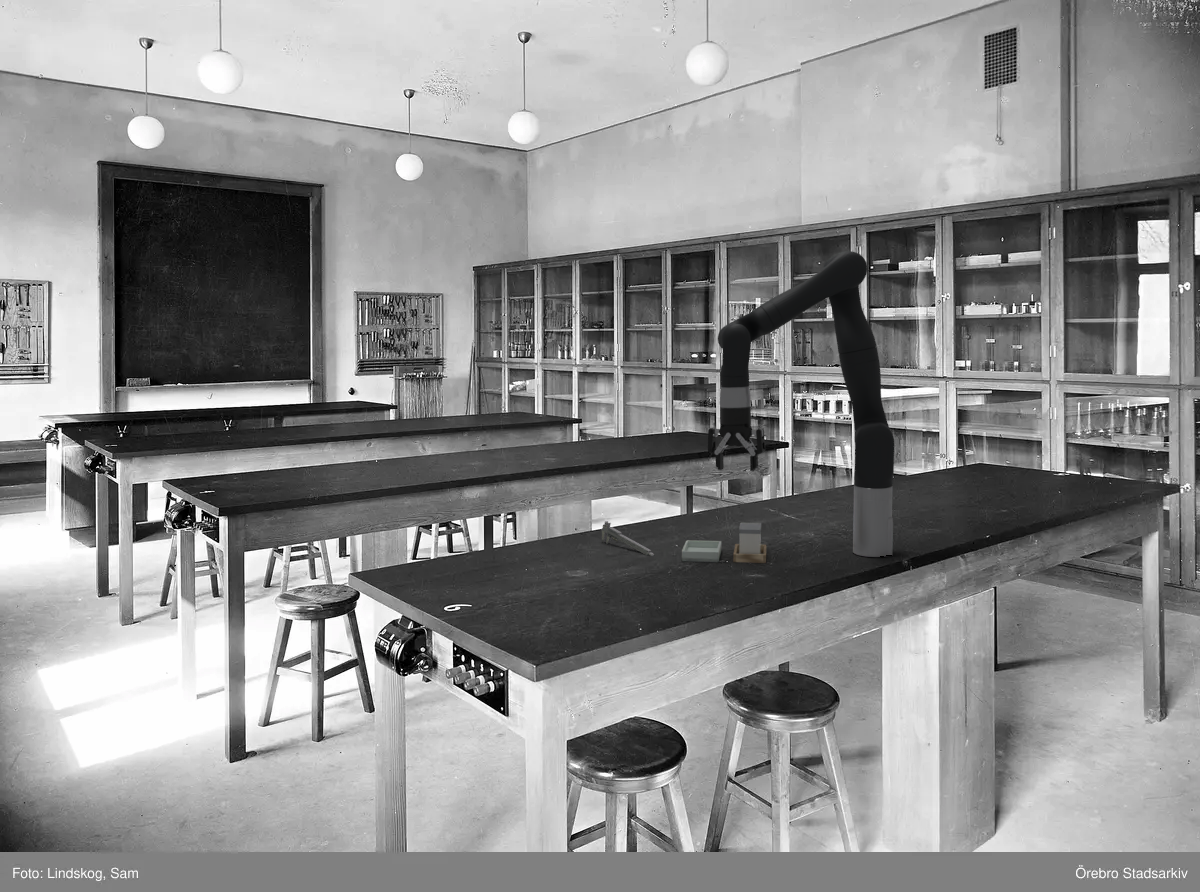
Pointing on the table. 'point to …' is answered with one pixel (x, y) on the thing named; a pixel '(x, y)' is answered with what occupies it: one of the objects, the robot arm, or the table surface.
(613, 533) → the caliper
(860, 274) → the robot arm
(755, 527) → the gray rectangular box
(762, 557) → the holder
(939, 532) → the table surface
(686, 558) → the tray
